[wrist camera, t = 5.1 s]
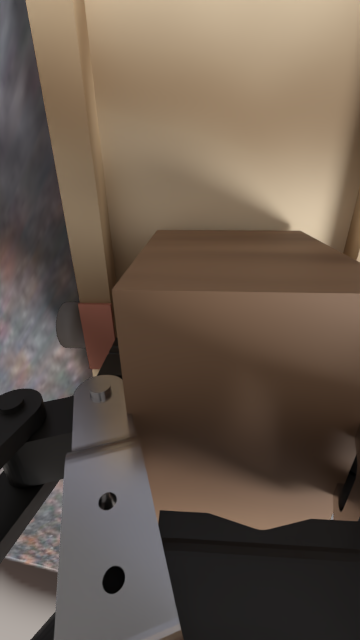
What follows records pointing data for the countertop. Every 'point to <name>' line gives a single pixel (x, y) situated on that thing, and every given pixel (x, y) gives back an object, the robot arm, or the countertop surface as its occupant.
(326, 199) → the wooden tray
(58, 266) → the countertop surface
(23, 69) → the countertop surface
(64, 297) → the countertop surface
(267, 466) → the block
